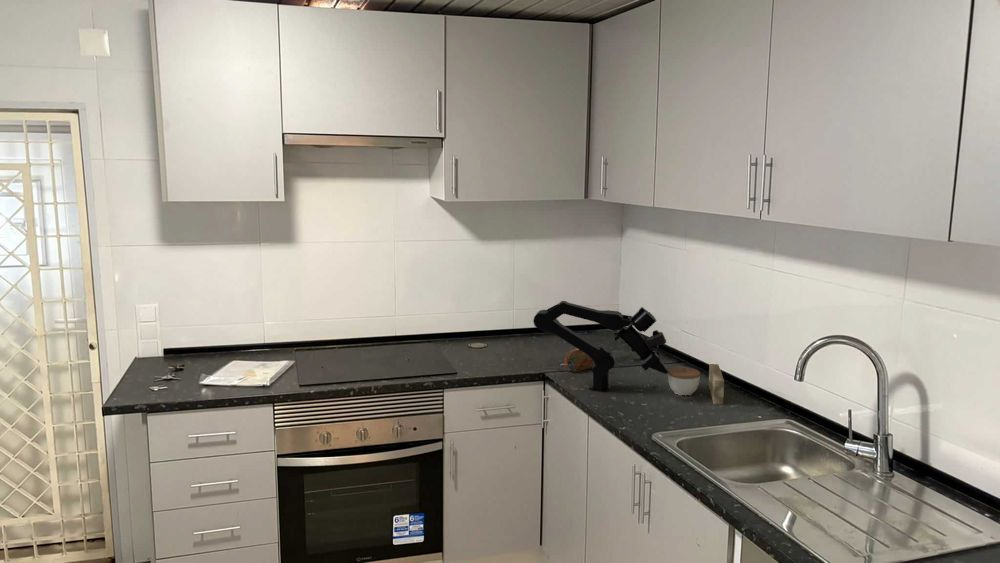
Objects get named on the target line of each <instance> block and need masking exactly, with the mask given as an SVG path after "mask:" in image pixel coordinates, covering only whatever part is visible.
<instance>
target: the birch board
mask: <svg viewBox="0 0 1000 563" xmlns="http://www.w3.org/2000/svg"><path fill="white" fill-rule="evenodd" d="M708 388H709V392H710V396H711V399H712V402H713V405H724V393H725V392H724V391H725V390H724V389H725V380H724V377H723V373H722V371H721V368H720V365H719V364H718V363H709V369H708Z"/></svg>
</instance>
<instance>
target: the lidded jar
mask: <svg viewBox="0 0 1000 563" xmlns="http://www.w3.org/2000/svg"><path fill="white" fill-rule="evenodd" d="M667 370H668V373H667V380H668V381H667V382H668V385H669V387H670V389H671V390H672V392H674V394H675V395H677V394H678V396H682V395H685V397H687V396H686V395H689V396H692V395H693V393H694V392H696V391H697V389H698V388H699V383H700V380H701V379H700V377H701V371H699V370H698V369H696V368H693V367H687V366H677V367H671V368H669V369H667Z"/></svg>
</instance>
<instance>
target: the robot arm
mask: <svg viewBox="0 0 1000 563" xmlns="http://www.w3.org/2000/svg"><path fill="white" fill-rule="evenodd" d="M563 315H568V316H572V317H575V318H580V319H581V320H582V319H583V320H587V321H590V322H595V323H596V324H599V325H600V326H603V327H604V328H605V329H606V328H607V329H608V330H610V331H614V332H613V334H614V341H615V342H616V341H618V340H619V339H621V340H622V341H623V342H624V343H625V344H626V345H627V346H628V347H629V348H630V350H631V351H632V353H635V354H636V355H637V356H638V357H639V358H638V359H639V360H641V368H642V369H644V371H646V372H647V370H649V369H652V370H655V371H657V372H660V373H662V374H665V375H668V370H669V369H668V368H667V367H666V366H665V364H664V363H663V361H662V359H661V358H660V356H661V352H660V350H657V352H656V351H654V350H655V349H658V348H659V346H661V345H665V344H667V339H666V337H665V335H664V333H663V332H662V331H658V329H656V330H652V335H650V336H649V337H646V336H645V335H642V334H641V333H642V332H643V333H645V332H646V331H647V330H648V329H650V328H651V327H652V326H653V325H654V324H655V323H656V322H657V321H658V320H657V319H656V317H655V316H654V315H653V314H652V313H651V312H649V311H648V310H647V309H645V308H644V307H643V306H641V307H640V308H639V309H638V310H637V312H636V313H635V314H633V315H629V314H628V315H627V314H622V313H621V312H620V311H617V310H609V309H608V310H599V309H595V308H591V307H588V306H587V307H586V306H584V305H580V304H579V305H578V304H575V303H571V302H568V301H566V300H562V301H561V300H560V301H559V302H558V303H556V304H555V305H553V306H551V307H549V308H547V309H540V310H538V311H537V312H536V313H535V315H534V317H533V324H534V327H535V328H536V329H538V330H540V331H543V332H545V333H549V334H553V335H555V336H557V337H558V338H559V339H562V340H564V341H565V342H566V343H568V344H570V345H571V346H573V347H574V348H575V349H579V350H581V351H582V352H584V353H585V354H587V355H588V356H589V357H590V358H591V359H592V360H593V361H594V363H593V366H592V367H591V371H592V385H591V386H589V387H588V390H591V391H597V392H604V393H605V392H606V393H607V391H608V392H609V390H611V389H612V388H613V385H610V370H611V369H613V367H614V366H615V365H616V354H615V352H614V351H613V349H612V348H610V347H608V346H606V345H605V344H604V343H603V342H602V343H601V345H600V346H599V345H596V344H594V343H592V342H591V341H590V340H588V339H586V338H584V337H583V336H582V335H580V334H578V333H577V332H575V331H573V330H572V329H570V328H569V327H567V326H565V325H564V324H562V323H561V322H560V321H559V320H558V318H560V316H563Z"/></svg>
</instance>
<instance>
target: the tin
mask: <svg viewBox="0 0 1000 563" xmlns="http://www.w3.org/2000/svg"><path fill="white" fill-rule="evenodd" d="M563 360H564V367H565V370H567V371H569V372H573V373H577V372H581V371H584V370H587V369H592V367H593V363H594V361H593V360H592V359H591V358H590V357H589V356H588V355H587V354H585V353H584V352H582V351H581V350H579V349H577V348H574V349H573V348H572V349H569V350H568V351H567V352H566V353H565V356H564V358H563Z"/></svg>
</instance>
